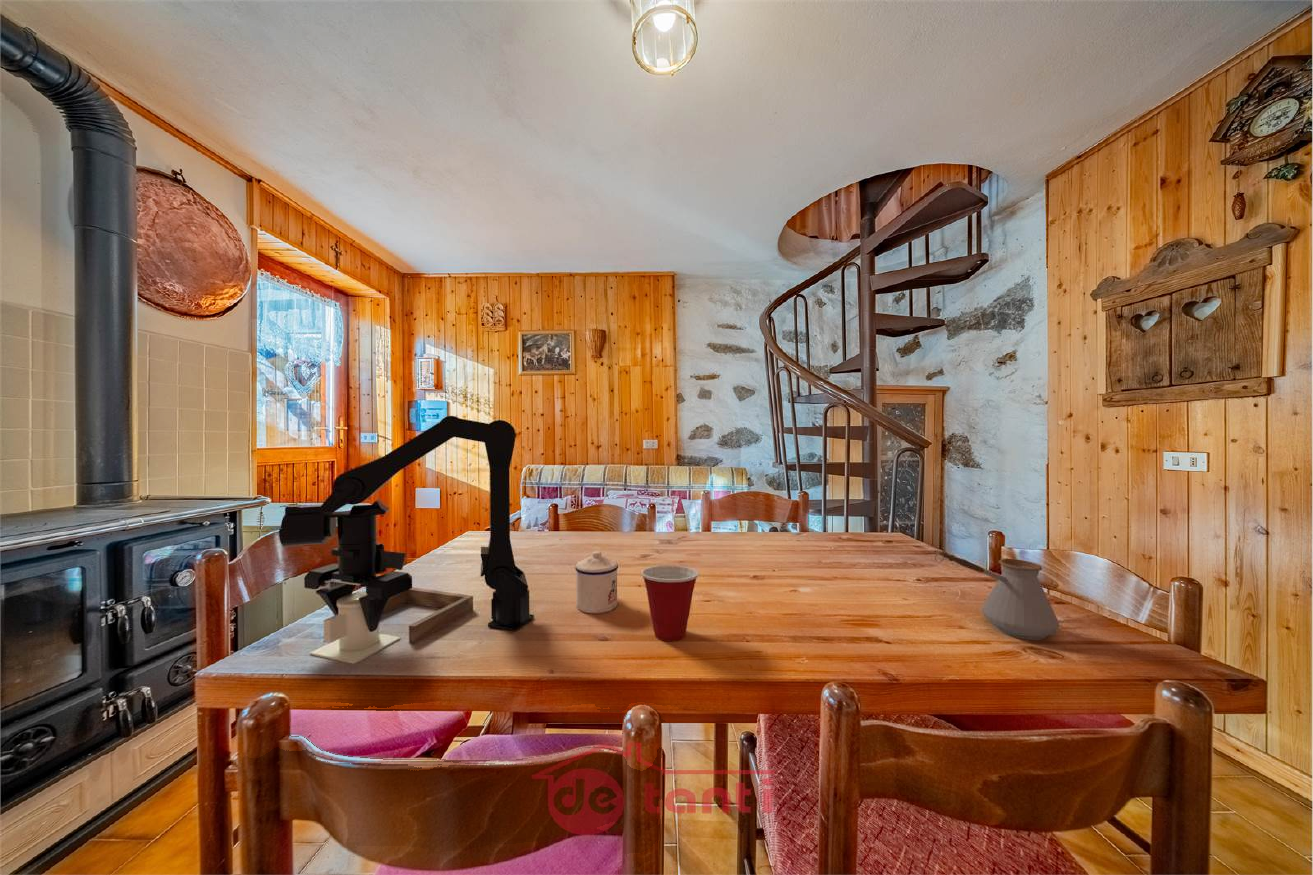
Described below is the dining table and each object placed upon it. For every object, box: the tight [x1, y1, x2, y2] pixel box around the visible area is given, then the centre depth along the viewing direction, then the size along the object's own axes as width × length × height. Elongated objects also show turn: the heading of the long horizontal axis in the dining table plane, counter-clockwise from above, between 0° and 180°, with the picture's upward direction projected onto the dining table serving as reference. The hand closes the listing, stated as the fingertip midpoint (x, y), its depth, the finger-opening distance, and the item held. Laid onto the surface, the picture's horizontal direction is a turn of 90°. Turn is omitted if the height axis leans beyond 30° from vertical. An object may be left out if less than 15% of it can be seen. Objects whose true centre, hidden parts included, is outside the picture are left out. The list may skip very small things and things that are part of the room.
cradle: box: [382, 586, 474, 644], centre depth 90 cm, size 17×15×3 cm
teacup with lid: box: [575, 550, 619, 614], centre depth 99 cm, size 12×9×12 cm
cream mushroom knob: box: [323, 590, 381, 651], centre depth 79 cm, size 9×6×8 cm
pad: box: [309, 633, 402, 665], centre depth 79 cm, size 10×9×1 cm
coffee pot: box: [934, 551, 1060, 641], centre depth 86 cm, size 21×12×15 cm, turn 89°
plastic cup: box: [640, 565, 700, 642], centre depth 84 cm, size 11×11×12 cm
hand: (359, 628), depth 80 cm, fingers closed on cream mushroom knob, 6 cm apart
